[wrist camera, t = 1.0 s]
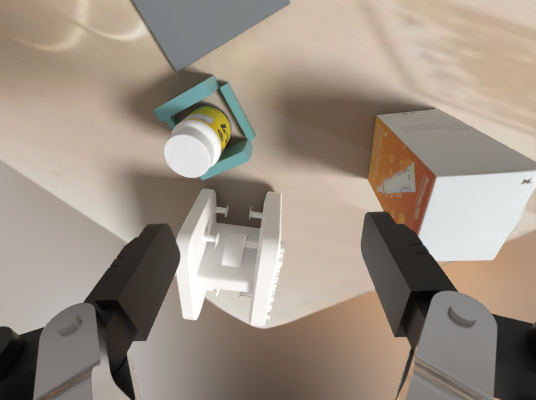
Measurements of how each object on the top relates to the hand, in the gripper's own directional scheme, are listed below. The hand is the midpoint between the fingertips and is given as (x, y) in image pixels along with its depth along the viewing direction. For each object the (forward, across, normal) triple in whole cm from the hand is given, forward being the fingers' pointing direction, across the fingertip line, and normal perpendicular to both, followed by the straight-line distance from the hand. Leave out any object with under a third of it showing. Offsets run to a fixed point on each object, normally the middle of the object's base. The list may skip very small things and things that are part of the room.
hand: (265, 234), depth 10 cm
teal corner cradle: (+20, +7, +1) cm, 21 cm away
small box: (+19, -14, +5) cm, 24 cm away
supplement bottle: (+20, +7, +1) cm, 21 cm away
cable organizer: (+20, +6, +15) cm, 26 cm away
